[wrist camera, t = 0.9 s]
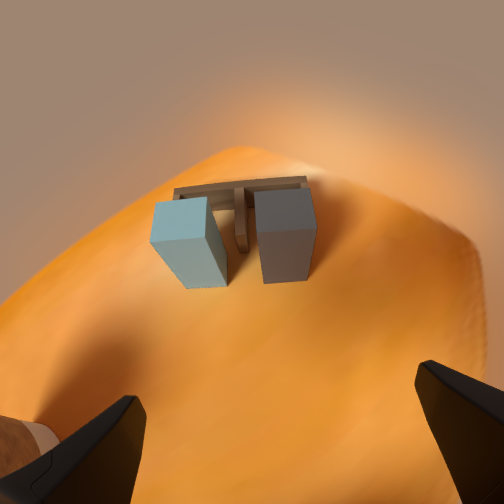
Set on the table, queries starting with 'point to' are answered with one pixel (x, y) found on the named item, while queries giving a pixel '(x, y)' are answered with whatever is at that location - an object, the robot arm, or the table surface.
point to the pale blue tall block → (190, 242)
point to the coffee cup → (22, 443)
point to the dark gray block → (285, 233)
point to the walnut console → (238, 198)
